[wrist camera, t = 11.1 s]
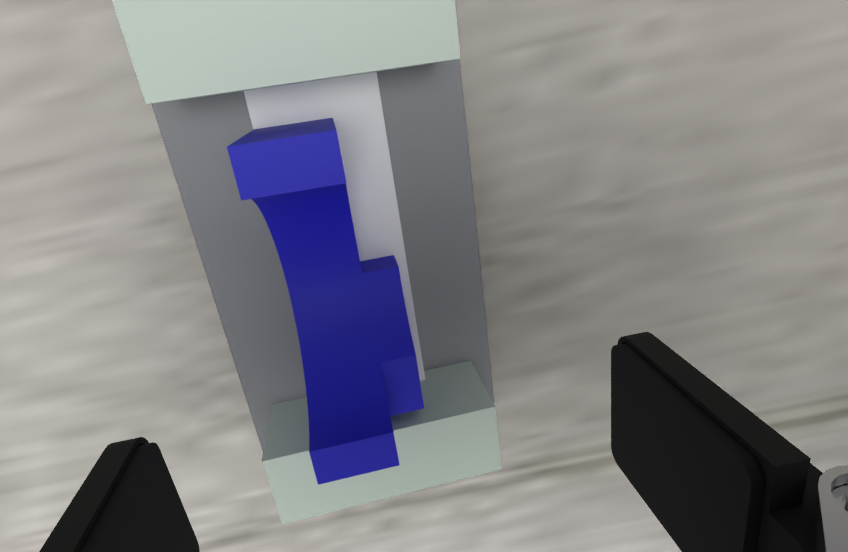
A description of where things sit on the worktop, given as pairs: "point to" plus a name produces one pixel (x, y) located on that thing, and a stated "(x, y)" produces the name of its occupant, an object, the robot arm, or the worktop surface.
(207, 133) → the board
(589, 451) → the worktop surface
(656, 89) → the worktop surface
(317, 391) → the cable clip
